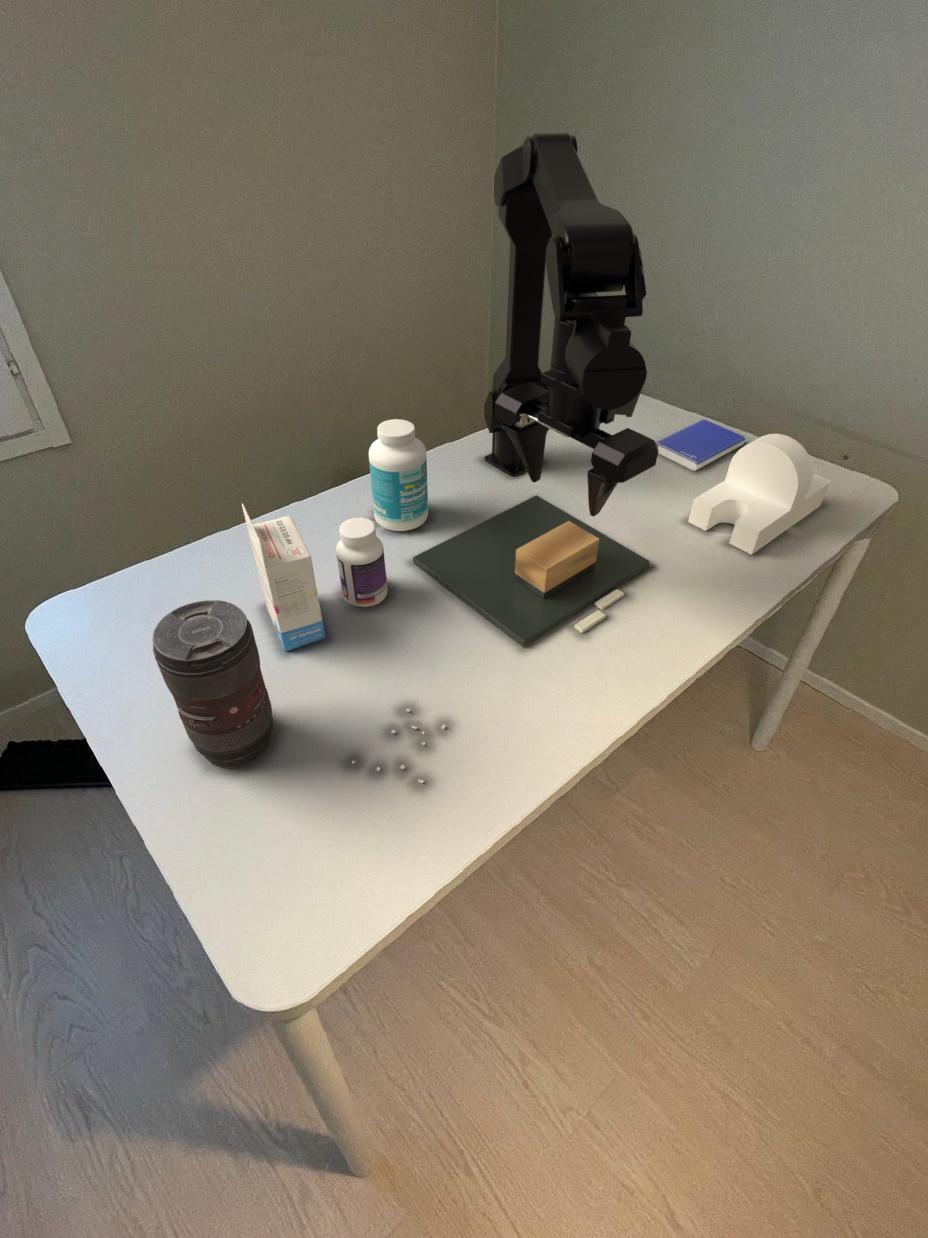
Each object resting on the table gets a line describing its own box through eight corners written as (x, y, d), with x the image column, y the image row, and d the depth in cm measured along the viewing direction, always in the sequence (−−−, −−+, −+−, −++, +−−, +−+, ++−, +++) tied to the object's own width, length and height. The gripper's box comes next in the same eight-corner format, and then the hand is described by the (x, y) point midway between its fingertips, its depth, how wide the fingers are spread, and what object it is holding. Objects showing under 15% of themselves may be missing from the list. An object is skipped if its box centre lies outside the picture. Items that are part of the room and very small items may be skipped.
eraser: (514, 579, 85) (516, 549, 82) (565, 549, 90) (568, 520, 87) (543, 599, 83) (546, 569, 80) (594, 568, 87) (599, 538, 84)
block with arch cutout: (751, 555, 90) (777, 480, 83) (688, 522, 96) (707, 449, 88) (822, 504, 99) (851, 432, 92) (760, 476, 105) (783, 406, 97)
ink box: (328, 639, 79) (308, 531, 69) (284, 653, 77) (258, 544, 67) (306, 594, 85) (285, 489, 75) (265, 607, 83) (238, 500, 73)
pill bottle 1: (396, 586, 86) (390, 520, 79) (373, 613, 82) (365, 546, 76) (357, 575, 87) (349, 509, 81) (334, 601, 84) (323, 534, 77)
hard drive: (697, 462, 105) (746, 436, 110) (654, 441, 109) (702, 417, 115) (695, 471, 106) (743, 445, 112) (652, 450, 110) (700, 426, 116)
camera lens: (293, 749, 68) (263, 638, 58) (210, 788, 65) (163, 677, 54) (262, 696, 73) (230, 584, 63) (184, 730, 70) (137, 618, 59)
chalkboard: (413, 563, 89) (412, 557, 89) (536, 500, 100) (536, 494, 99) (523, 647, 78) (523, 641, 77) (648, 567, 89) (650, 561, 88)
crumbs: (390, 703, 72) (390, 702, 72) (454, 724, 70) (454, 723, 70) (351, 762, 66) (351, 762, 66) (420, 787, 64) (420, 787, 64)
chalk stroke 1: (574, 624, 80) (574, 627, 80) (582, 630, 79) (581, 633, 80) (598, 609, 82) (597, 612, 82) (605, 614, 81) (605, 617, 82)
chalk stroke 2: (601, 610, 83) (602, 607, 82) (594, 605, 84) (594, 602, 83) (624, 596, 85) (624, 593, 84) (616, 591, 85) (616, 588, 85)
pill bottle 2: (409, 539, 93) (403, 447, 84) (363, 523, 96) (353, 432, 87) (439, 512, 98) (436, 422, 89) (394, 497, 100) (387, 408, 91)
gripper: (707, 371, 68) (674, 506, 79) (566, 317, 79) (554, 443, 89) (633, 405, 63) (608, 545, 74) (493, 343, 74) (489, 473, 84)
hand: (564, 497), depth 80 cm, fingers open, 9 cm apart
